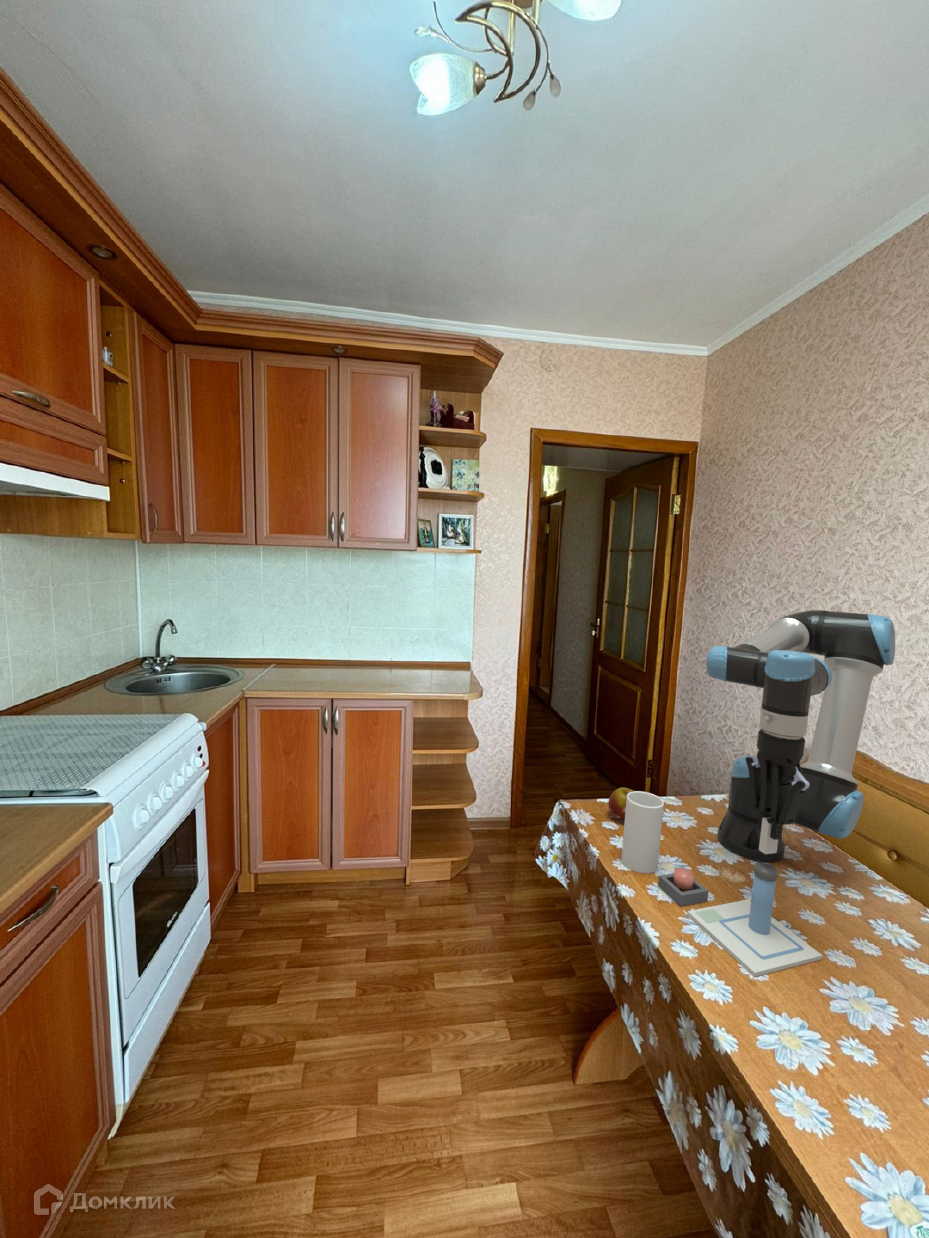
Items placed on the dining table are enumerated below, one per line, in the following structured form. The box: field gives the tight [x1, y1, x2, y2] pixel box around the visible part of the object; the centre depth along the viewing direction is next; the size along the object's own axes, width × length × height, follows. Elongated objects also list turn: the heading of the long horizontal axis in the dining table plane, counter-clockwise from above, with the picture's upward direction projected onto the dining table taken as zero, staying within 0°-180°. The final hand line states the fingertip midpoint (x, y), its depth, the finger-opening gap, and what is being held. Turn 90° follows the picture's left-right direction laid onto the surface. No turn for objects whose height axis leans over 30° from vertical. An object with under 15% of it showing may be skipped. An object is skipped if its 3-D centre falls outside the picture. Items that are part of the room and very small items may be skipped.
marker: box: [748, 861, 779, 935], centre depth 97 cm, size 4×4×12 cm
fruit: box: [608, 787, 635, 822], centre depth 141 cm, size 10×9×8 cm
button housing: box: [657, 872, 709, 907], centre depth 109 cm, size 7×7×2 cm
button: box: [673, 867, 695, 891], centre depth 108 cm, size 4×4×2 cm
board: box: [686, 899, 823, 978], centre depth 97 cm, size 16×16×1 cm
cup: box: [620, 790, 665, 874], centre depth 119 cm, size 8×8×16 cm
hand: (767, 851), depth 97 cm, fingers closed
